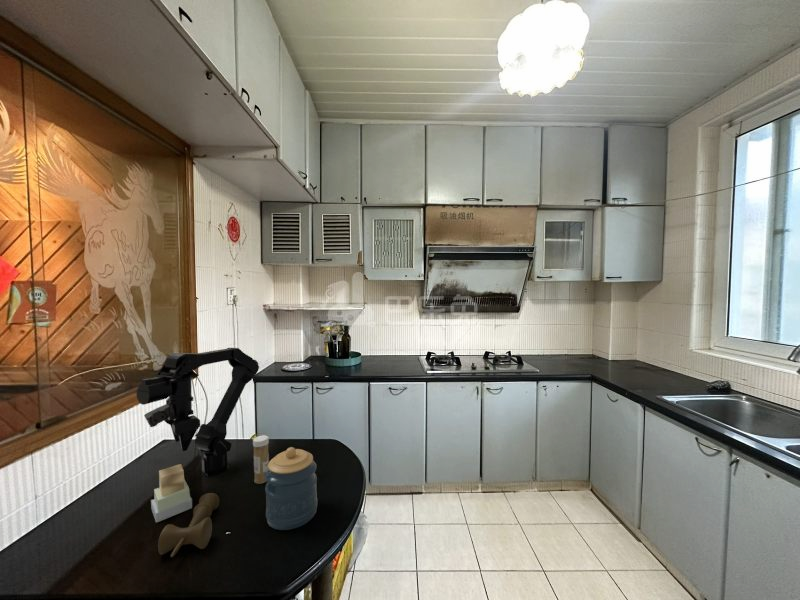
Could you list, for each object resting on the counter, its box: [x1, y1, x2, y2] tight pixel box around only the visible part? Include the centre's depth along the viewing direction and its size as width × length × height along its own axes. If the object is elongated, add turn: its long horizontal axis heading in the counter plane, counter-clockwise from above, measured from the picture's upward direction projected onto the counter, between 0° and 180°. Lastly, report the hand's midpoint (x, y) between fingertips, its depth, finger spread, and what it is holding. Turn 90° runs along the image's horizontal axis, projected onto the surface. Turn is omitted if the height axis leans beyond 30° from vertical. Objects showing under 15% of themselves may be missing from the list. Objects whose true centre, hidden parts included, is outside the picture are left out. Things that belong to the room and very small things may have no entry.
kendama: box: [157, 492, 220, 558], centre depth 78 cm, size 6×10×20 cm
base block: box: [150, 496, 193, 523], centre depth 89 cm, size 8×8×3 cm
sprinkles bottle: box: [252, 434, 270, 485], centre depth 101 cm, size 5×5×14 cm
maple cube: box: [158, 463, 185, 496], centre depth 89 cm, size 5×5×5 cm
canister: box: [264, 446, 318, 531], centre depth 85 cm, size 13×13×18 cm
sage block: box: [153, 479, 191, 512], centre depth 89 cm, size 7×7×3 cm
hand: (180, 446), depth 98 cm, fingers open, 9 cm apart
